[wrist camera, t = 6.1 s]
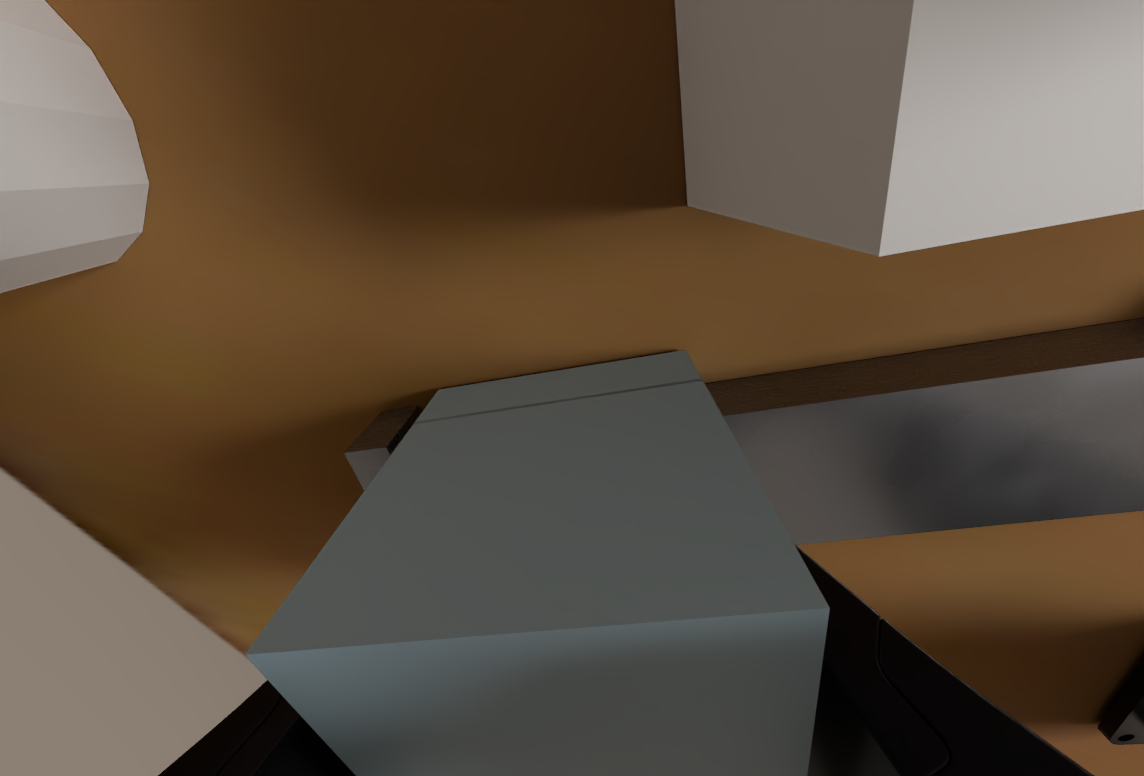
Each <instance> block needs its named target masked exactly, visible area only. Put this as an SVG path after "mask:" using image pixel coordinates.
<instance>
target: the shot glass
mask: <svg viewBox="0 0 1144 776" xmlns="http://www.w3.org/2000/svg"><path fill="white" fill-rule="evenodd" d="M148 188H149V181H148V177H147V174H146V170H145V166H144V162H143V158H142V155H141V151H140V147H139V143H138V139H137V136H136V132H135V128H134V124H133V120H132V119H131V117H130V115H129V114H128V112H127V110H126V109H125V107H124V105H123V103H122V102H121V100H120V98H119V97H118V95H117V93H116V91H115V90H114V88H113V86H112V85H111V83H110V81H109V79H108V78H107V76H106V74H105V73H104V71H103V69H102V67H101V66H100V64H99V62H98V61H97V59H96V57H95V56H94V54H93V52H92V50H91V49H90V48H89V47H88V46H87V45H86V44H85V43H84V42H83V41H82V39H81V38H80V37H79V36H78V35H77V34H76V33H75V32H74V31H73V30H72V29H71V28H70V27H69V26H68V25H67V24H66V23H65V22H64V20H63V19H62V18H61V17H60V16H59V15H58V14H57V13H56V12H55V11H54V10H53V9H52V8H51V7H50V6H49V5H48V4H47V2H46V1H45V0H0V293H3V292H6V291H10V290H14V289H17V288H21V287H25V286H28V285H32V284H36V283H39V282H43V281H46V280H50V279H54V278H57V277H61V276H65V275H68V274H72V273H76V272H79V271H83V270H87V269H90V268H94V267H98V266H101V265H105V264H109V263H112V262H116V261H118V259H119V258H120V257H121V256H122V255H123V254H124V253H125V251H126V250H127V249H128V248H129V247H130V246H131V244H132V243H133V242H134V241H135V240H136V239H137V238H138V236H139V235H140V234H141V233H142V232H143V225H144V218H145V210H146V203H147V196H148Z"/></svg>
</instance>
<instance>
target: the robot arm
mask: <svg viewBox="0 0 1144 776" xmlns="http://www.w3.org/2000/svg"><path fill="white" fill-rule="evenodd" d="M794 545H795V544H794ZM795 547H796V548H797V550H798V552H799V554H800V556H801V557H802V559H803V561H804V563H805V565H806V566H807V568H808V570H809V572H810V574H811V575H812V577H813V579H814V581H815V583H816V584H817V586H818V588H819V590H820V591H821V593H822V595H823V597H824V599H825V600H826V602H827V604H828V606H829V608H830V610H829V617H828V625H827V632H826V640H825V647H824V655H823V662H822V669H821V677H820V684H819V692H818V699H817V706H816V714H815V721H814V729H813V736H812V743H811V751H810V758H809V766H808V773H807V776H1094V775H1092V774H1091V773H1090V772H1088V771H1087V770H1086V769H1084V768H1083V767H1081V766H1080V765H1079V764H1077V763H1076V762H1074V761H1073V760H1072V759H1070V758H1069V757H1067V756H1066V755H1065V754H1063V753H1062V752H1060V751H1059V750H1058V749H1056V748H1055V747H1053V746H1052V745H1051V744H1049V743H1048V742H1046V741H1045V740H1044V739H1042V738H1041V737H1040V736H1038V735H1037V734H1035V733H1034V732H1033V731H1031V730H1030V729H1028V728H1027V727H1026V726H1024V725H1023V724H1021V723H1020V722H1019V721H1017V720H1016V719H1014V718H1013V717H1012V716H1010V715H1009V714H1007V713H1006V712H1005V711H1003V710H1002V709H1000V708H999V707H998V706H996V705H995V704H994V703H992V702H991V701H989V700H988V699H987V698H985V697H984V696H982V695H981V694H980V693H978V692H977V691H976V690H974V689H973V688H972V687H970V686H969V685H968V684H966V683H965V682H964V681H962V680H961V679H960V678H958V677H957V676H956V675H954V674H953V673H951V672H950V671H949V670H947V669H946V668H945V667H943V666H942V665H941V664H940V663H938V662H937V661H936V660H935V659H933V658H932V657H931V656H929V655H928V654H927V653H926V652H924V651H923V650H922V649H921V648H919V647H918V646H917V645H916V644H914V643H913V642H912V641H911V640H909V639H908V638H907V637H906V636H904V635H903V634H902V633H901V632H900V631H898V630H897V629H896V628H895V627H894V626H892V625H891V624H890V623H889V622H888V621H886V620H885V619H881V620H880V615H879V614H878V613H877V612H875V611H874V610H873V609H872V608H871V607H869V606H868V605H867V604H866V603H865V602H863V601H862V600H861V599H860V598H858V597H857V596H856V595H855V594H854V593H852V592H851V591H850V590H849V589H848V588H846V587H845V586H844V585H843V584H842V583H840V582H839V581H838V580H837V579H836V578H834V577H833V576H832V575H831V574H830V573H828V572H827V571H826V570H825V569H824V568H822V567H821V566H820V565H819V564H818V563H816V562H815V561H814V560H813V559H812V558H810V557H809V556H808V555H807V554H806V553H804V552H803V551H802V550H801V549H800V548H798V547H797V546H796V545H795ZM1098 729H1099V730H1100V731H1101V732H1102V734H1103V735H1104V736H1105V737H1106V738H1107V739H1108V740H1109V741H1110V742H1111V743H1113V744H1118V745H1125V744H1144V664H1143V665H1142V667H1141V668H1140V669H1139V671H1138V672H1137V673H1136V675H1135V676H1134V677H1133V679H1132V680H1131V682H1130V683H1129V684H1128V686H1127V687H1126V688H1125V690H1124V691H1123V693H1122V694H1121V695H1120V697H1119V698H1118V699H1117V701H1116V702H1115V703H1114V705H1113V706H1112V708H1111V709H1110V710H1109V712H1108V713H1107V714H1106V716H1105V717H1104V719H1103V720H1102V721H1101V723H1100V724H1099V725H1098ZM158 776H356V775H355V774H354V773H353V772H352V771H351V770H350V769H349V768H348V767H347V766H346V764H345V763H344V762H343V761H342V760H341V759H340V758H339V757H338V756H337V755H336V754H335V752H334V751H333V750H332V749H331V748H330V747H329V746H328V745H327V744H326V743H325V742H324V741H323V739H322V738H321V737H320V736H319V735H318V734H317V733H316V732H315V731H314V730H313V729H312V727H311V726H310V725H309V724H308V723H307V722H306V721H305V720H304V719H303V718H302V717H301V716H300V714H299V713H298V712H297V711H296V710H295V709H294V708H293V707H292V706H291V705H290V704H289V703H288V701H287V700H286V699H285V698H284V697H283V696H282V695H281V694H280V693H279V692H278V691H277V689H276V688H275V687H274V686H273V685H272V684H271V683H270V682H269V681H268V680H267V681H266V682H265V683H264V684H263V685H262V686H261V687H259V689H257V690H256V691H255V692H254V693H253V694H252V695H251V696H250V697H248V698H247V699H246V700H245V701H244V702H243V703H242V704H241V705H240V706H239V707H237V709H235V710H234V711H233V712H232V713H231V714H229V715H228V716H227V717H226V718H225V719H224V720H223V721H222V722H220V723H219V724H218V725H217V726H216V727H214V728H213V729H212V730H211V731H210V732H209V733H208V734H206V735H205V736H204V737H203V738H202V739H201V740H199V741H198V742H197V743H196V744H195V745H194V746H192V747H191V748H190V749H189V750H188V751H186V752H185V753H184V754H183V755H182V756H181V757H179V758H178V759H177V760H176V761H175V762H174V763H172V764H171V765H170V766H169V767H168V768H166V769H165V770H164V771H163V772H162V773H161V774H160V775H158Z"/></svg>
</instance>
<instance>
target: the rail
mask: <svg viewBox="0 0 1144 776" xmlns="http://www.w3.org/2000/svg"><path fill="white" fill-rule="evenodd" d="M705 385H706V387H707V389H708V391H709V393H710V394H711V396H712V398H713V400H714V402H715V403H716V405H717V407H718V409H719V410H720V412H721V414H722V416H723V418H724V419H725V421H726V423H727V425H728V427H729V428H730V430H731V432H732V434H733V436H734V437H735V439H736V441H737V443H738V445H739V446H740V448H741V450H742V452H743V453H744V455H745V457H746V459H747V461H748V462H749V464H750V466H751V468H752V470H753V471H754V473H755V475H756V477H757V479H758V480H759V482H760V484H761V486H762V488H763V489H764V491H765V493H766V495H767V497H768V498H769V500H770V502H771V504H772V505H773V507H774V509H775V511H776V513H777V514H778V516H779V518H780V520H781V522H782V523H783V525H784V527H785V529H786V531H787V532H788V534H789V536H790V538H791V540H792V541H793V543H794V544H795V545H800V544H810V543H821V542H831V541H841V540H851V539H861V538H871V537H881V536H891V535H901V534H911V533H921V532H932V531H942V530H952V529H962V528H972V527H982V526H992V525H1002V524H1012V523H1022V522H1033V521H1043V520H1053V519H1063V518H1073V517H1083V516H1093V515H1103V514H1113V513H1123V512H1133V511H1144V318H1142V319H1135V320H1129V321H1122V322H1115V323H1109V324H1102V325H1095V326H1089V327H1082V328H1075V329H1069V330H1062V331H1055V332H1049V333H1042V334H1035V335H1029V336H1022V337H1015V338H1008V339H1002V340H995V341H988V342H982V343H975V344H968V345H962V346H955V347H948V348H942V349H935V350H928V351H922V352H915V353H908V354H902V355H895V356H888V357H882V358H875V359H868V360H862V361H855V362H848V363H841V364H835V365H828V366H821V367H815V368H808V369H801V370H795V371H788V372H781V373H775V374H768V375H761V376H755V377H748V378H741V379H735V380H728V381H721V382H715V383H708V384H705ZM420 414H421V413H420V410H419V408H418V406H415V407H408V408H402V409H396V410H389V411H383V412H381V413H380V414H379V415H378V416H377V417H376V418H375V420H374V421H373V422H372V423H371V424H370V425H369V426H368V427H367V428H366V429H365V431H364V432H363V433H362V434H361V435H360V436H359V437H358V438H357V439H356V440H355V442H354V443H353V444H352V445H351V446H350V447H349V448H348V449H347V450H346V451H345V453H344V454H345V456H346V458H347V460H348V462H349V464H350V465H351V467H352V469H353V471H354V473H355V475H356V477H357V478H358V480H359V482H360V484H361V486H362V488H363V489H364V491H365V490H366V488H367V487H368V485H369V484H370V483H371V481H372V480H373V479H374V477H375V476H376V475H377V473H378V472H379V470H380V469H381V468H382V466H383V465H384V464H385V462H386V461H387V460H388V458H389V457H390V455H391V454H392V453H393V451H394V450H395V449H396V447H397V446H398V444H399V443H400V442H401V440H402V439H403V438H404V436H405V435H406V434H407V432H408V431H409V429H410V428H411V427H412V425H413V424H414V423H415V421H416V420H417V418H418V417H419V416H420Z"/></svg>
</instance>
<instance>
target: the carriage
mask: <svg viewBox="0 0 1144 776" xmlns="http://www.w3.org/2000/svg"><path fill="white" fill-rule="evenodd" d="M829 610H830V608H829V606H828V604H827V602H826V600H825V599H824V597H823V595H822V593H821V591H820V590H819V588H818V586H817V584H816V583H815V581H814V579H813V577H812V575H811V574H810V572H809V570H808V568H807V566H806V565H805V563H804V561H803V559H802V557H801V556H800V554H799V552H798V550H797V548H796V547H795V545H794V543H793V541H792V540H791V538H790V536H789V534H788V532H787V531H786V529H785V527H784V525H783V523H782V522H781V520H780V518H779V516H778V514H777V513H776V511H775V509H774V507H773V505H772V504H771V502H770V500H769V498H768V497H767V495H766V493H765V491H764V489H763V488H762V486H761V484H760V482H759V480H758V479H757V477H756V475H755V473H754V471H753V470H752V468H751V466H750V464H749V462H748V461H747V459H746V457H745V455H744V453H743V452H742V450H741V448H740V446H739V445H738V443H737V441H736V439H735V437H734V436H733V434H732V432H731V430H730V428H729V427H728V425H727V423H726V421H725V419H724V418H723V416H722V414H721V412H720V410H719V409H718V407H717V405H716V403H715V402H714V400H713V398H712V396H711V394H710V393H709V391H708V389H707V387H706V385H705V384H704V382H703V380H702V378H701V376H700V375H699V373H698V371H697V369H696V367H695V366H694V364H693V362H692V360H691V359H690V357H689V355H688V353H687V351H686V350H682V351H676V352H670V353H664V354H657V355H651V356H645V357H639V358H632V359H626V360H620V361H614V362H608V363H601V364H595V365H589V366H583V367H577V368H570V369H564V370H558V371H552V372H545V373H539V374H533V375H527V376H521V377H514V378H508V379H502V380H496V381H489V382H483V383H477V384H471V385H465V386H458V387H452V388H446V389H440V390H438V391H437V392H436V394H435V395H434V397H433V398H432V399H431V401H430V402H429V403H428V405H427V406H426V408H425V409H424V410H423V412H422V413H421V414H420V416H419V417H418V418H417V420H416V421H415V423H414V424H413V425H412V427H411V428H410V429H409V431H408V432H407V434H406V435H405V436H404V438H403V439H402V440H401V442H400V443H399V444H398V446H397V447H396V449H395V450H394V451H393V453H392V454H391V455H390V457H389V458H388V460H387V461H386V462H385V464H384V465H383V466H382V468H381V469H380V470H379V472H378V473H377V475H376V476H375V477H374V479H373V480H372V481H371V483H370V484H369V485H368V487H367V488H366V490H365V491H364V492H363V494H362V495H361V496H360V498H359V499H358V501H357V502H356V503H355V505H354V506H353V507H352V509H351V510H350V511H349V513H348V514H347V516H346V517H345V518H344V520H343V521H342V522H341V524H340V525H339V527H338V528H337V529H336V531H335V532H334V533H333V535H332V536H331V537H330V539H329V540H328V542H327V543H326V544H325V546H324V547H323V548H322V550H321V551H320V553H319V554H318V555H317V557H316V558H315V559H314V561H313V562H312V563H311V565H310V566H309V568H308V569H307V570H306V572H305V573H304V574H303V576H302V577H301V579H300V580H299V581H298V583H297V584H296V585H295V587H294V588H293V589H292V591H291V592H290V594H289V595H288V596H287V598H286V599H285V600H284V602H283V603H282V604H281V606H280V607H279V609H278V610H277V611H276V613H275V614H274V615H273V617H272V618H271V620H270V621H269V622H268V624H267V625H266V626H265V628H264V629H263V630H262V632H261V633H260V635H259V636H258V637H257V639H256V640H255V641H254V643H253V644H252V646H251V647H250V648H249V650H248V651H247V652H246V654H245V656H246V657H247V658H248V659H249V660H250V661H251V662H252V663H253V664H254V666H255V667H256V668H257V669H258V670H259V671H260V672H261V673H262V674H263V675H264V676H265V678H266V679H267V680H268V681H269V682H270V683H271V684H272V685H273V686H274V687H275V688H276V689H277V691H278V692H279V693H280V694H281V695H282V696H283V697H284V698H285V699H286V700H287V701H288V703H289V704H290V705H291V706H292V707H293V708H294V709H295V710H296V711H297V712H298V713H299V714H300V716H301V717H302V718H303V719H304V720H305V721H306V722H307V723H308V724H309V725H310V726H311V727H312V729H313V730H314V731H315V732H316V733H317V734H318V735H319V736H320V737H321V738H322V739H323V741H324V742H325V743H326V744H327V745H328V746H329V747H330V748H331V749H332V750H333V751H334V752H335V754H336V755H337V756H338V757H339V758H340V759H341V760H342V761H343V762H344V763H345V764H346V766H347V767H348V768H349V769H350V770H351V771H352V772H353V773H354V774H355V775H356V776H807V773H808V766H809V758H810V751H811V743H812V736H813V729H814V721H815V714H816V706H817V699H818V692H819V684H820V677H821V669H822V662H823V655H824V647H825V640H826V632H827V625H828V617H829Z"/></svg>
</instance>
